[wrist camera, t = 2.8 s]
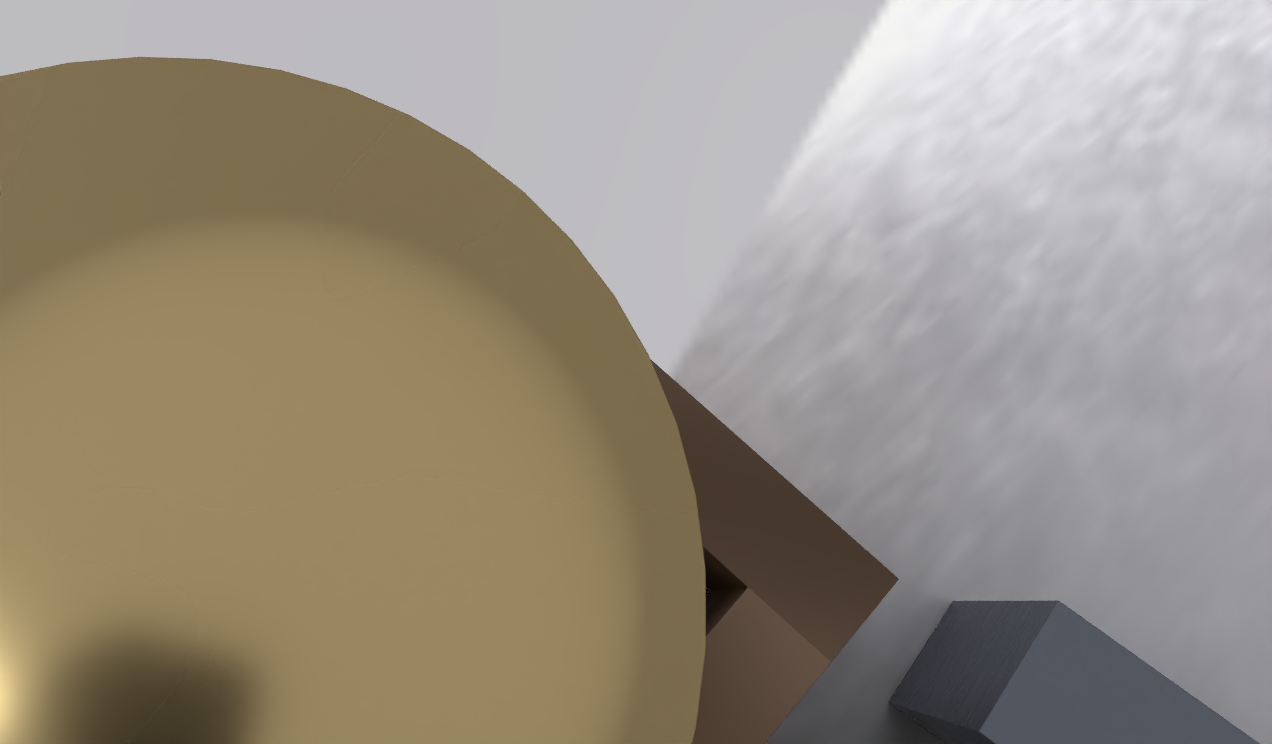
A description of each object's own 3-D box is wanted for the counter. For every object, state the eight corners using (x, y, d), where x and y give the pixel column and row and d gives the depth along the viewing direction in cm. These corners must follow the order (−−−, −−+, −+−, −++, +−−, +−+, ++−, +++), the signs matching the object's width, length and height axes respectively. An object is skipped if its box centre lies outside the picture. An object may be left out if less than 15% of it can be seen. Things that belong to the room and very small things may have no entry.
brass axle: (494, 784, 17) (55, 1651, 3) (316, 612, 17) (-799, 647, 3) (661, 593, 17) (941, 557, 4) (486, 433, 18) (151, -136, 4)
